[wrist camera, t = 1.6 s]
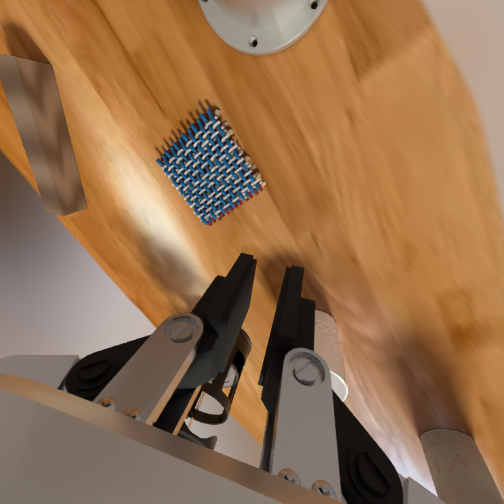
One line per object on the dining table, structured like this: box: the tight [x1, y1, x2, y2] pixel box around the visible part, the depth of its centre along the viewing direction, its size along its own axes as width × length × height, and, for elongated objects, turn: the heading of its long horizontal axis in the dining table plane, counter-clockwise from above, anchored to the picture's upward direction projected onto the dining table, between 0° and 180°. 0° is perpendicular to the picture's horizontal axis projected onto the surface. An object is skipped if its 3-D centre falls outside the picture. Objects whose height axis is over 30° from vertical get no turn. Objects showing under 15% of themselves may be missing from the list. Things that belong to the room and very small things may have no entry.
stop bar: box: [0, 55, 87, 216], centre depth 30 cm, size 18×3×4 cm, turn 173°
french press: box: [177, 329, 251, 450], centre depth 33 cm, size 12×9×23 cm
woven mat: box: [156, 108, 266, 226], centre depth 28 cm, size 10×11×2 cm
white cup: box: [314, 310, 348, 401], centre depth 32 cm, size 8×8×10 cm
